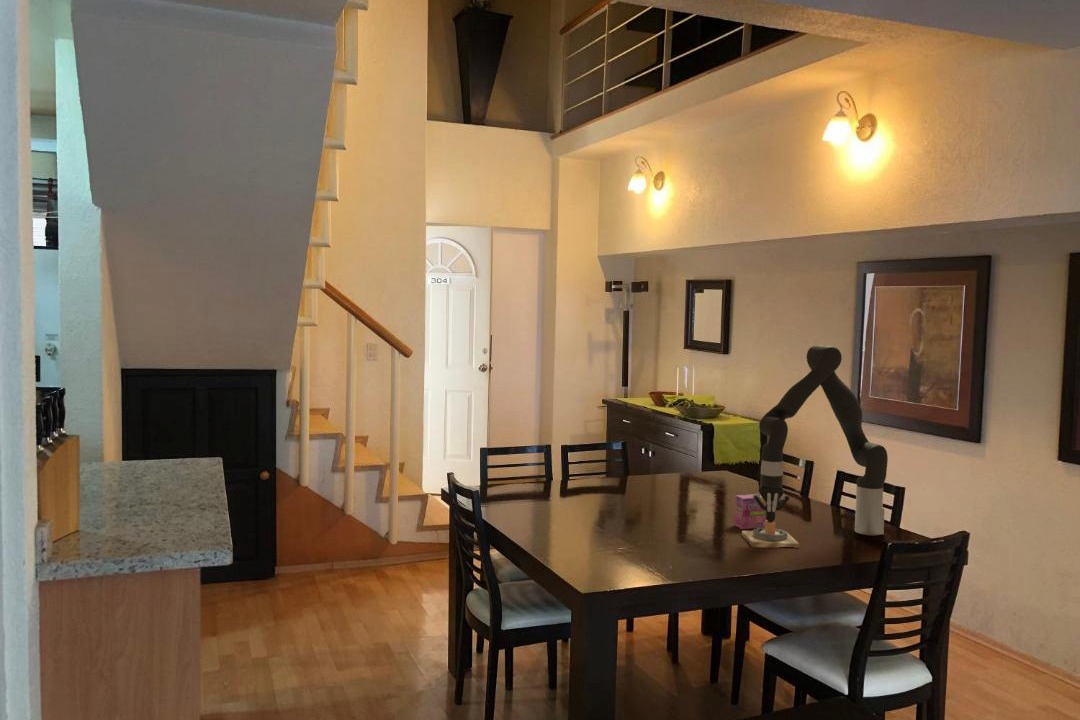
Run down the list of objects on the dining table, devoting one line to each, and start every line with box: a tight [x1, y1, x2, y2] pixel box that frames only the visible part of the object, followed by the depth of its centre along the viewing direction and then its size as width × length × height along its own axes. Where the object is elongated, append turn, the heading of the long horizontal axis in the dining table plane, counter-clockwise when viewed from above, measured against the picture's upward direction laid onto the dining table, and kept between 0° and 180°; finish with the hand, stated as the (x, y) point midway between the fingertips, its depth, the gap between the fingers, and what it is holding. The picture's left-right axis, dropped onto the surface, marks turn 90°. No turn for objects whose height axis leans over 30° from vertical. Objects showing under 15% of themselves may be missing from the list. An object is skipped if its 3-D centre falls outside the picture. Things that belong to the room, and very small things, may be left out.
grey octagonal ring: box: [752, 527, 788, 541], centre depth 304 cm, size 11×11×2 cm
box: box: [734, 493, 766, 530], centre depth 324 cm, size 10×6×12 cm, turn 105°
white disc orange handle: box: [760, 520, 780, 535], centre depth 304 cm, size 7×7×6 cm
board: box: [741, 530, 800, 549], centre depth 304 cm, size 16×16×2 cm
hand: (770, 521), depth 304 cm, fingers closed
